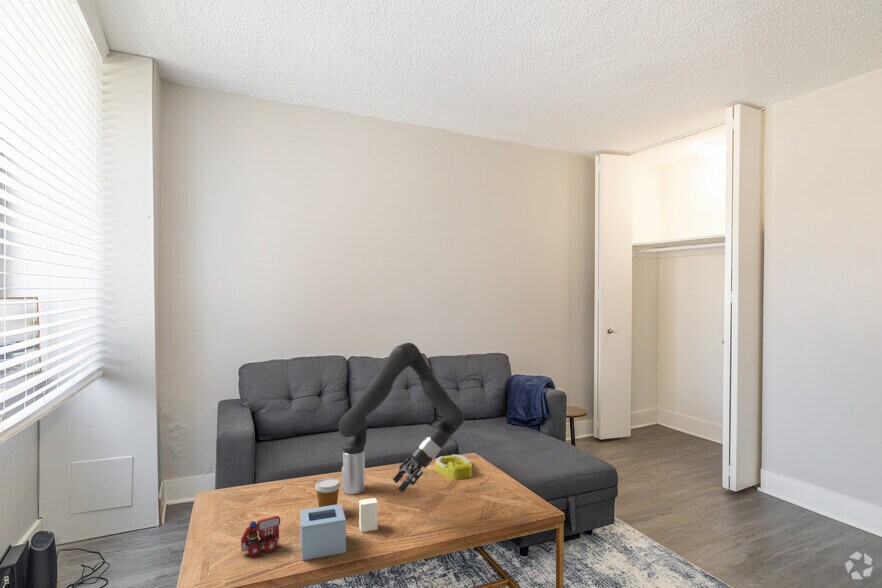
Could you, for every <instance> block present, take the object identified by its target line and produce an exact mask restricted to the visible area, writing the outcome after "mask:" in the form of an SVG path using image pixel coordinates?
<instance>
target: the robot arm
mask: <svg viewBox="0 0 882 588" xmlns="http://www.w3.org/2000/svg"><path fill="white" fill-rule="evenodd" d="M408 367H410V368H411V369H412V370H413V371H414V372H415V374H416V376H418V377H417V378H418V380H419V381H420V385H421V388H422V390H423V392H424V394H425V396H426V397H427V399H428V400H429V401H430V403H431V404H432V405H433V406H434V408H435V409H437V411H438V412H439V413H440V414H441V416H442V420H441V421H440V422H439V423H438V425H436V427H434V428H433V429H432V430H431V432H430V433H429V434H428V435H427V436H426V437H425V438H424V439H423V440H422V441H421V442H420V443H419V444H418V446H417V447H416V448H415V449H414V450H413V451H412V452H411V455H408V456H407V457H406V459H405V460H403V462H402V463H401V464H400V465H399V467H398V469H399V470H398V472H397V473H396V474H395V475H394V477H393V478H392V480H393V482H395V483H396V484H397V483H399V481H401V479H402V478H403V477H404V475H406V477H405V480H403V481H402V483H401V484H400V485H399V486H398V488H397V489H398V490H399V492H400V493H403V492H405V490H406V489H407V488H408V487H409V486H414V485H415V484H416V483H417V482H418V480H419V479H420V478H421V477H422V475H423V474H424V471H423V470H421V469H422V468H424V469H426V468H427V467H428V466H429V465H430V464H431V463H432V461H434V459H435V458H437V456H438V454H439V453H440V451H442V448H443V447H444V446H445V445H446V444H447V442H448V441H449V440H450V439H451V437H452V436H453V434H455V433H456V432H457V430H458V429H459V428H460V427H461V426H462V425H463V424H464V422H465V415H464V412H463V411H462V410H461V408H459V406H458V405H457V404H455V402H454V401H453V400H452V398H451V397H450V395H449V394H448V392H446V390H445V389H444V387H443V386H442V385H441V383H440V382H439V381H438V380H437V378H436V377H435V375H434V373H433V372H432V371H431V368H430V367H429V365H428V363H427V362H426V360H425V358H424V357H423V355H422V353H421V351H420V349H419V348H418V346H417V345H415V343H413V342H412V343H411V342H405V343H403V344H400V345H397V346H395V347H393V349H392V351H391V352H390V353H389V355H388V358H387V359H386V361H385V362H384V364H383V365H382V367H381V369H379V371H378V372H377V373H376V374H375V376H374V377H373V378H372V380H371V381H370V382H369V384H367V386H366V387H365V389H364V390H363V392H362V393H361V394H360V396H359V397H358V398H357V400H356V401H355V403H354V404H353V405H352V407H351V408H350V409H349V410H348V411H347V412H346V413H345V414H344V415H343V416H342V417H341V418H340V420H339V422H338V432H339V434H340V435H341V436H342V437H344V438H347V439H346V440H345V442H344V443H343V445H342V467H341V490H342V491H343V493H344V494H347V495H357V494H360V493H362V492H365V490H366V486H365V485H366V483H365V482H366V481H365V480H366V478H365V477H366V476H365V475H366V468H365V466H366V465H365V462H366V461H365V458H366V457H365V446H366V443H367V435H368V433H367V431H368V424H367V418H366V417H368V416H369V415H370V414H371V413H372V412H374V411H375V410H376V409H378V407H380V406H381V405H382V404H383V402H384V401H385V400H386V399H387V398H388V397H389V395H390V393H391V392H392V390H393V387H394V383H395V382H396V381H395V380H396V379H397V378H398V376H399V375H400V374H401V373H402V372H404V370H405V369H407V368H408Z"/></svg>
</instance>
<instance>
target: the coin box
mask: <svg viewBox="0 0 882 588" xmlns="http://www.w3.org/2000/svg"><path fill="white" fill-rule="evenodd" d="M299 517H300V519H299V520H300V526H299V528H300V530H299V532H300V551H301V552H300V553H301V560H302V561H307V560H312V559H316V558H317V559H318V558H322V557H328V556H334V555H338V554H339V555H340V554H344V553H346V552H347V536H346V535H347V524H346V523H347V521H346V520H347V519H346V516H345V512H344V509H343V506H342V503H339V504H338V503H337V505H330V506H324V507H319V506H317V507H312V508H305V509H300V514H299Z"/></svg>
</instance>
